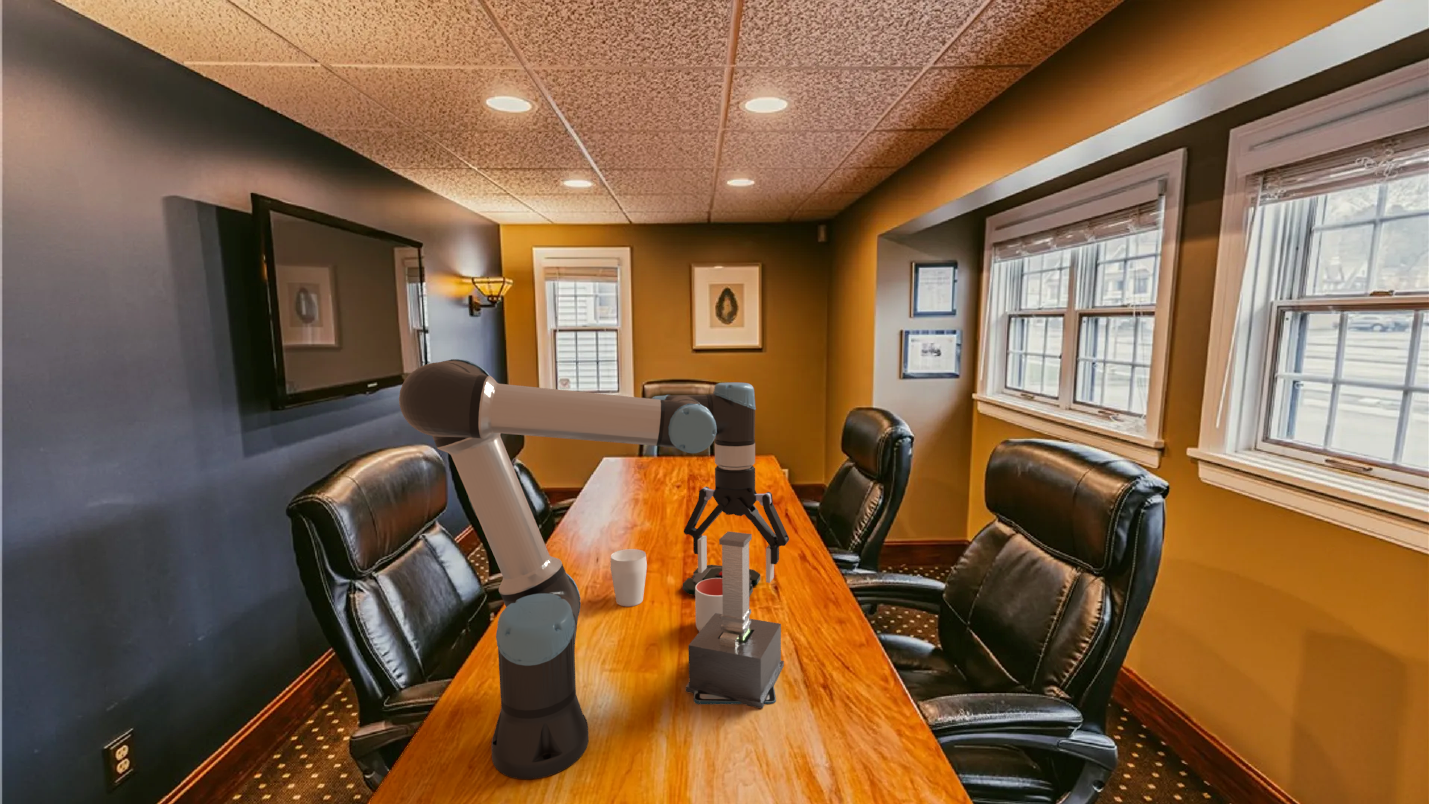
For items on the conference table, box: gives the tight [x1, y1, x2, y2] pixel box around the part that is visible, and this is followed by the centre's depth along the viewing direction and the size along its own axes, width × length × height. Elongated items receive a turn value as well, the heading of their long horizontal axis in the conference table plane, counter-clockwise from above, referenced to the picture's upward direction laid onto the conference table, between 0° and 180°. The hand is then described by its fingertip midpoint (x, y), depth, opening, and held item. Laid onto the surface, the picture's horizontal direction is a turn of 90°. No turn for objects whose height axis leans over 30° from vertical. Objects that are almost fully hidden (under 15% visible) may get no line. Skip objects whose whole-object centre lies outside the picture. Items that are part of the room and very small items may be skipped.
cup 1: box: [610, 548, 648, 607], centre depth 151 cm, size 9×9×12 cm
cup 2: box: [694, 578, 723, 632], centre depth 137 cm, size 10×10×10 cm
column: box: [718, 531, 752, 644], centre depth 115 cm, size 5×5×21 cm
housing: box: [685, 613, 785, 709], centre depth 117 cm, size 15×15×10 cm
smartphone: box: [693, 685, 777, 705], centre depth 113 cm, size 7×1×15 cm
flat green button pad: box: [682, 564, 761, 598], centre depth 160 cm, size 18×18×5 cm
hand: (735, 575), depth 115 cm, fingers open, 13 cm apart
